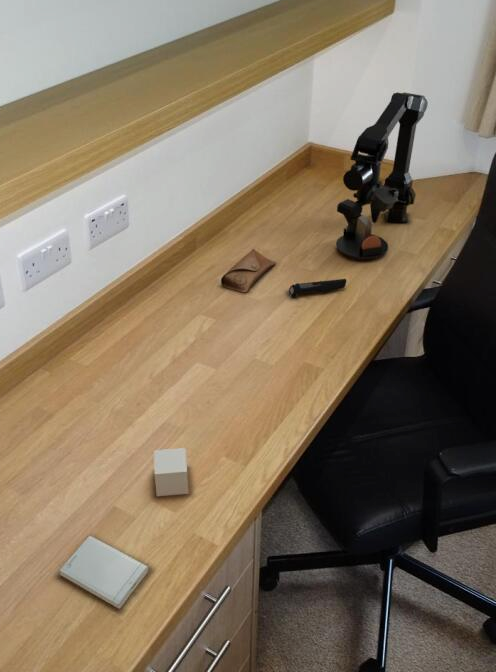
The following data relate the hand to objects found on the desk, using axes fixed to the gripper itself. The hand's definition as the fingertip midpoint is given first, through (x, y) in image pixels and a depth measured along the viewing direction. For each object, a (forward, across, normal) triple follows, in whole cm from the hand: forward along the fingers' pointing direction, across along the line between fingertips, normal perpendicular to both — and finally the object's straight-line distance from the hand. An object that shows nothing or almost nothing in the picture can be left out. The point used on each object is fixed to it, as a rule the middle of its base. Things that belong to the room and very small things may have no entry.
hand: (363, 227), depth 203 cm
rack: (+8, 0, 0) cm, 8 cm away
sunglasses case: (+8, -34, +12) cm, 37 cm away
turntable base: (+8, 0, 0) cm, 8 cm away
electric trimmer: (+8, -26, -6) cm, 28 cm away
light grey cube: (+8, -96, -34) cm, 102 cm away
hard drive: (+8, -116, -42) cm, 124 cm away
